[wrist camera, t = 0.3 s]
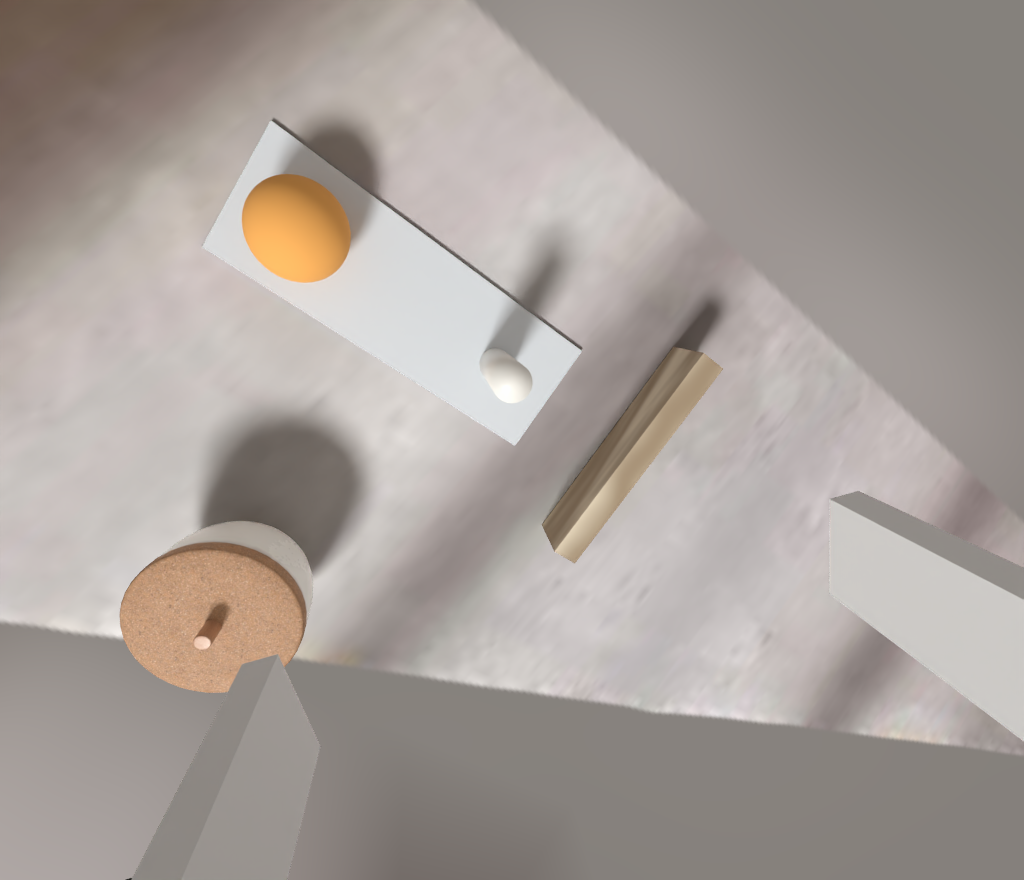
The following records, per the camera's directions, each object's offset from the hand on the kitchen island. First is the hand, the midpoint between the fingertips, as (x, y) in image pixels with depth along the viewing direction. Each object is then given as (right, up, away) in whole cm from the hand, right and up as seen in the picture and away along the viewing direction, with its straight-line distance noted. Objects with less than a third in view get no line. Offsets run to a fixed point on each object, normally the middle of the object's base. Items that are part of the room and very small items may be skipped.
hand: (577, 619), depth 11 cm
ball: (-14, +17, +18) cm, 28 cm away
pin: (-3, +10, +25) cm, 27 cm away
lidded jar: (-22, -5, +27) cm, 35 cm away
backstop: (+7, +4, +28) cm, 29 cm away
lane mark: (-9, +14, +23) cm, 28 cm away
